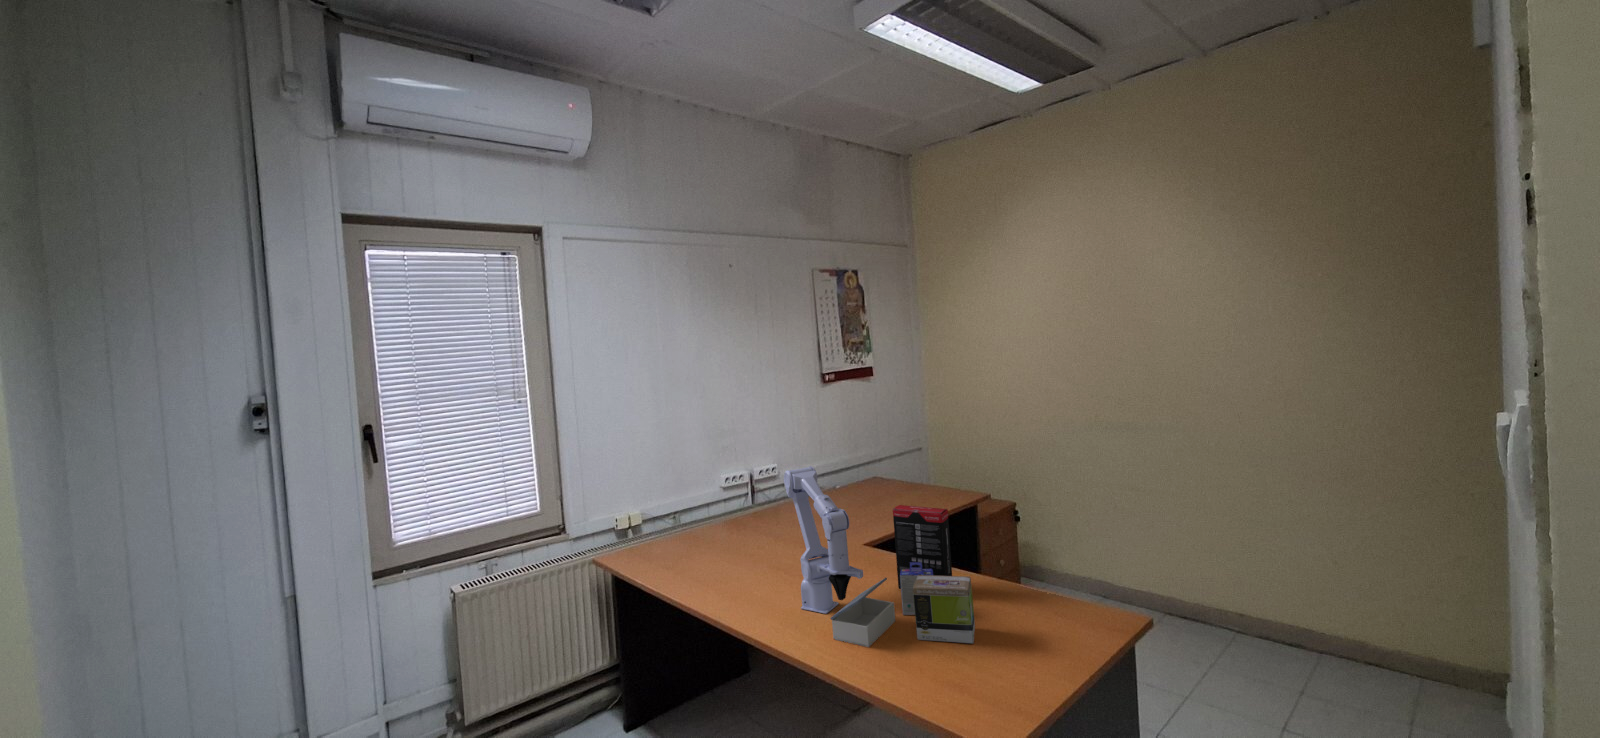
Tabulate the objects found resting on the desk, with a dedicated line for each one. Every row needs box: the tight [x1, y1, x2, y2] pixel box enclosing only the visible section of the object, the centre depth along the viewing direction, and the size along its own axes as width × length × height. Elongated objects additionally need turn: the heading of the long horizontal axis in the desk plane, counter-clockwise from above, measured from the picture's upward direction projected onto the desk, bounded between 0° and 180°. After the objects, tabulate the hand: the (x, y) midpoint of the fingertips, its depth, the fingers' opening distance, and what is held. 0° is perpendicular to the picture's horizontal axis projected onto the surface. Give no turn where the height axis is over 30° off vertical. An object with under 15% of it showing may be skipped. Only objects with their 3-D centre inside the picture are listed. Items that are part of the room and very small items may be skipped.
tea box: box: [913, 575, 976, 644], centre depth 165 cm, size 15×10×15 cm, turn 71°
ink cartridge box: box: [900, 562, 933, 616], centre depth 180 cm, size 10×6×14 cm, turn 78°
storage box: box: [831, 596, 896, 648], centre depth 171 cm, size 11×17×6 cm, turn 146°
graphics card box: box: [892, 504, 953, 590], centre depth 195 cm, size 17×7×27 cm, turn 58°
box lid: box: [829, 577, 888, 621], centre depth 172 cm, size 11×17×1 cm
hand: (841, 598), depth 175 cm, fingers closed
